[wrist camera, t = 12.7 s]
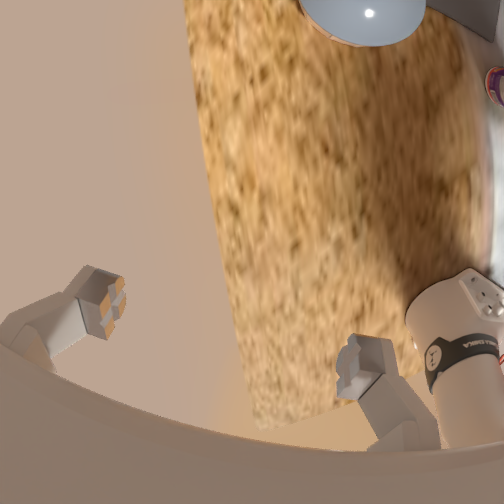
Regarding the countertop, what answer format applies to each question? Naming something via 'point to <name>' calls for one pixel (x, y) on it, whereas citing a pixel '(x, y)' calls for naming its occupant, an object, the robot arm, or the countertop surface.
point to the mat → (471, 14)
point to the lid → (367, 19)
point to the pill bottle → (495, 85)
